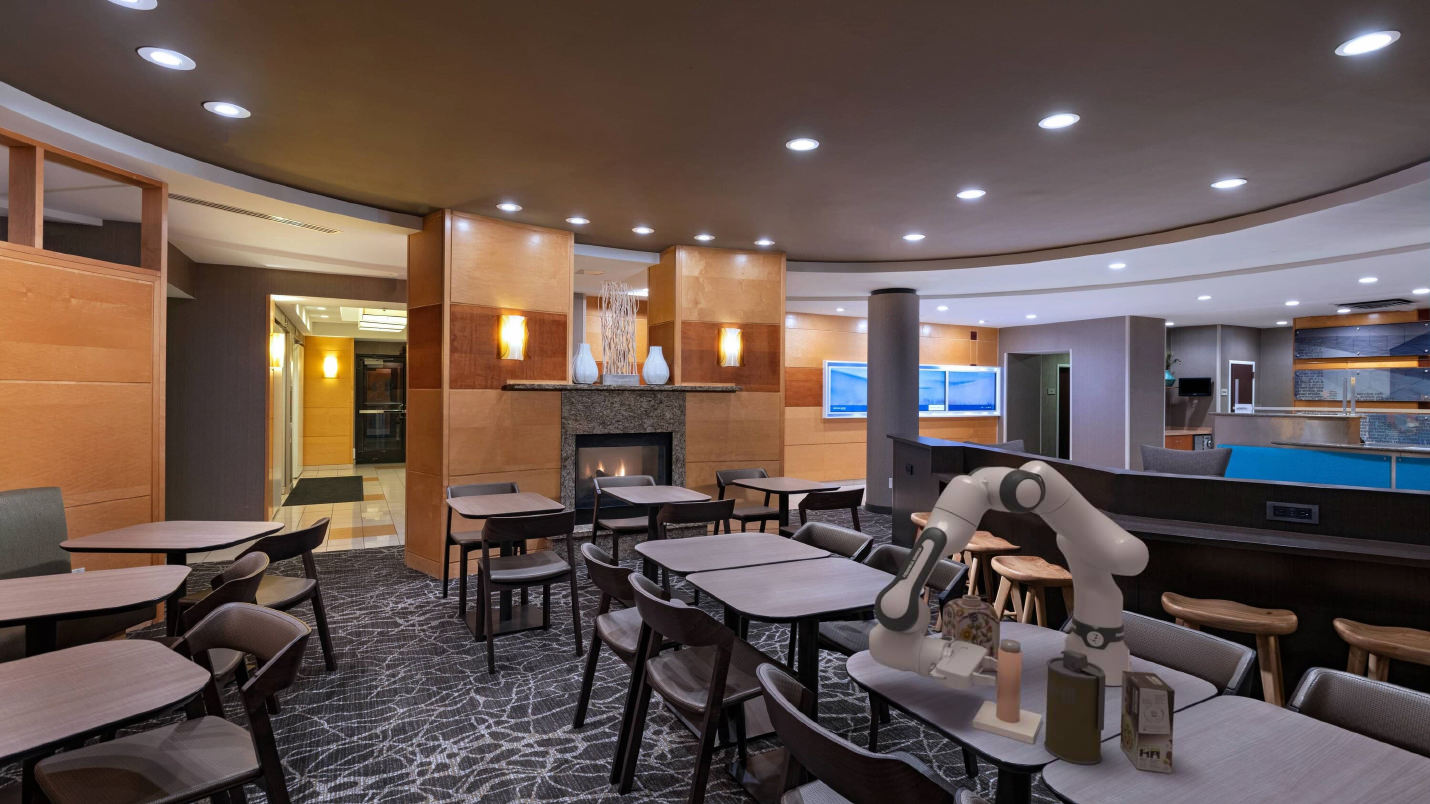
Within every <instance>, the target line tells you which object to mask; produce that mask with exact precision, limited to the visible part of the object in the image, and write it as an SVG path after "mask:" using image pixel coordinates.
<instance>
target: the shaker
mask: <svg viewBox="0 0 1430 804" xmlns="http://www.w3.org/2000/svg"><path fill="white" fill-rule="evenodd" d="M1022 668H1023V650H1022V649H1021V642H1020V641H1017V640H1013V639H1009V638H1006V639H1005V638H1003V639H1000V646H999V647H998V671H997V675H996V677H997V684H996V702H995V703H996V717H997V718H998V719H1000V720H1002V721H1005V722H1009V723H1017V722H1019V721H1020V709H1021V694H1022Z"/></svg>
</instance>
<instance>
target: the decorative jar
mask: <svg viewBox="0 0 1430 804" xmlns="http://www.w3.org/2000/svg"><path fill="white" fill-rule="evenodd" d="M941 625H942V626H941V629H942V630H941V638H942V637H945V636H950V637H953V638H954V641H964V642H968V643H972V644H975V645H979V646H982V647H984V648H986V649H987V650H988V656H989V657H992V658H994V659H995V660H997V661H998V647H999V646H1000V644H1001V637H1000V635H1001V621H1000V619H999V615H998V614H997V611H996V609H995V608H994V607H993V605H991V604H990V603H988V602H985V601H983V600H982V599H981V596H978V595H975V594H974V595H973V594H964V595H963V596H962V598H955V599H952V600H950V601H948V602H947V603H946V604H945V605H944V606H943V609H942V624H941ZM981 672H996V673H998V671H996V669H994V668H991V667H989V668H988V667H984V669H983V670H982V671H981Z"/></svg>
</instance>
